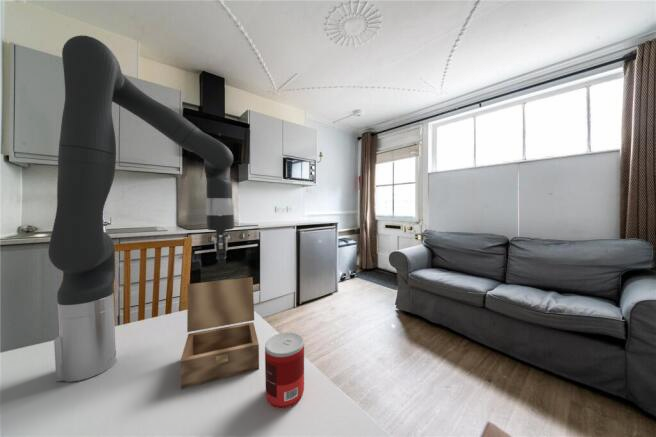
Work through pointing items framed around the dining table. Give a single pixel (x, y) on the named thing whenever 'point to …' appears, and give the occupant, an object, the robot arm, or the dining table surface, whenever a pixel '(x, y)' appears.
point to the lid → (219, 303)
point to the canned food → (284, 369)
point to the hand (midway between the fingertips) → (222, 270)
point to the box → (219, 354)
